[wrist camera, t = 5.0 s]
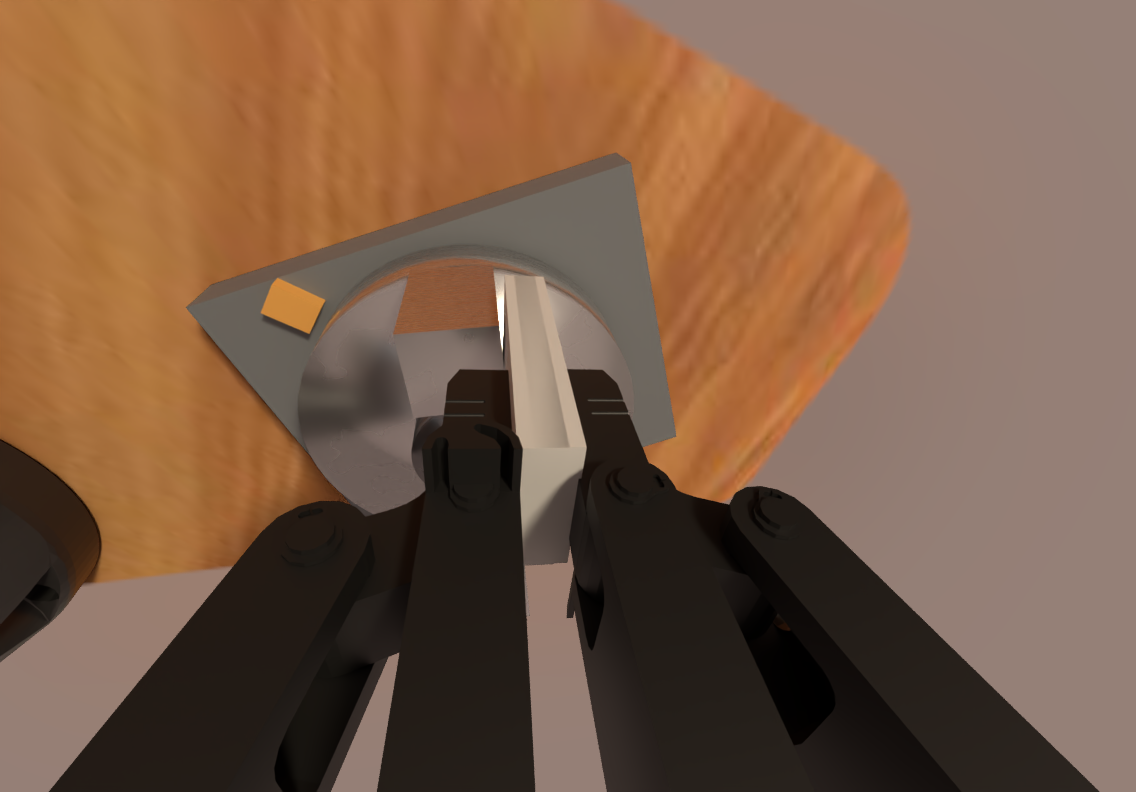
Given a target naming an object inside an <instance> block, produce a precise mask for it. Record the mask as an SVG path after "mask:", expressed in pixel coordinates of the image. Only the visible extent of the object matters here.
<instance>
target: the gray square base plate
mask: <svg viewBox="0 0 1136 792" xmlns="http://www.w3.org/2000/svg"><path fill="white" fill-rule="evenodd" d="M454 244H479V245H486V246H494V247H501V248H505V249H509V250H513V251H517V252H520V253H524V254H526V255H529V256H531V257H534V258H536V259H538V260H541V261H543V262H545V263H547V264H548V265H550V266H552V267H554V268H555V269H557V270H559V271H561V272H562V273H563V274H565V275H566V276H567V277H569V278H570V279H571V280H572V281H574V282H575V283H576V284H577V285H578V286H579V287H580V288H581V289H582V290H583V291H584V292H585V293H586V294H587V295H588V296H589V297H590V298H591V299H592V301H593V302H594V304H595V305H596V306H597V308H598V309H599V310H600V312H601V314H602V316H603V318H604V320H605V321H606V323H607V325H608V327H609V329H610V331H611V333H612V335H613V337H614V339H615V341H616V343H617V345H618V347H619V349H620V351H621V353H622V355H623V357H624V359H625V361H626V364H627V367H628V370H629V373H630V376H631V379H632V386H633V392H634V413H633V419H632V422H633V425H634V427H635V430H636V432H637V435H638V437H639V440H640V442H641V445H642V447H644V446H648V445H651V444H654V443H657V442H660V441H664V440H667V439H670V438H673V437H676V431H675V425H674V419H673V413H672V407H671V401H670V395H669V389H668V383H667V377H666V371H665V365H664V359H663V353H662V347H661V341H660V335H659V329H658V323H657V317H656V311H655V305H654V299H653V293H652V287H651V281H650V275H649V269H648V263H647V257H646V251H645V245H644V239H643V233H642V227H641V221H640V215H639V209H638V203H637V197H636V191H635V185H634V179H633V173H632V167H631V162H629V161H628V160H626V159H625V158H623V157H622V156H620V155H619V154H617V153H614V154H610V155H607V156H604V157H601V158H598V159H595V160H592V161H589V162H586V163H583V164H580V165H577V166H574V167H571V168H568V169H565V170H561V171H558V172H555V173H552V174H549V175H546V176H543V177H540V178H537V179H534V180H531V181H528V182H525V183H522V184H519V185H515V186H512V187H509V188H506V189H503V190H500V191H497V192H494V193H491V194H488V195H485V196H482V197H479V198H476V199H473V200H470V201H466V202H463V203H460V204H457V205H454V206H451V207H448V208H445V209H442V210H439V211H436V212H433V213H430V214H427V215H424V216H421V217H417V218H414V219H411V220H408V221H405V222H402V223H399V224H396V225H393V226H390V227H387V228H384V229H381V230H378V231H375V232H372V233H368V234H365V235H362V236H359V237H356V238H353V239H350V240H347V241H344V242H341V243H338V244H335V245H332V246H329V247H326V248H322V249H319V250H316V251H313V252H310V253H307V254H304V255H301V256H298V257H295V258H292V259H289V260H286V261H283V262H280V263H277V264H273V265H270V266H267V267H264V268H261V269H258V270H255V271H252V272H249V273H246V274H243V275H240V276H237V277H234V278H231V279H228V280H224V281H221V282H218V283H215V284H212V285H210V286H209V287H208V288H207V289H206V290H205V291H204V292H203V293H201V294H200V295H199V296H198V297H197V298H196V299H195V300H194V301H193V302H192V303H190V304H189V305H188V306H187V307H186V308H187V309H188V311H189V312H190V313H191V314H192V315H193V317H194V318H195V319H196V320H197V321H198V323H199V324H200V325H201V326H202V327H203V329H204V330H205V331H206V332H207V333H208V335H209V336H210V337H211V338H212V339H213V341H214V342H215V343H216V344H217V345H218V346H219V348H220V349H221V350H222V351H223V352H224V354H225V355H226V356H227V357H228V358H229V360H230V361H231V362H232V363H233V364H234V366H235V367H236V368H237V369H238V370H239V372H240V373H241V374H242V375H243V376H244V377H245V379H246V380H247V381H248V382H249V383H250V385H251V386H252V387H253V388H254V389H255V391H256V392H257V393H258V394H259V395H260V397H261V398H262V399H263V400H264V401H265V403H266V404H267V405H268V406H269V407H270V409H271V410H272V411H273V412H274V413H275V414H276V416H277V417H278V418H279V419H280V420H281V422H282V423H283V424H284V425H285V426H286V428H287V429H288V430H289V431H290V432H291V434H292V435H293V436H294V437H295V438H296V440H297V441H298V442H299V443H300V444H301V446H302V447H303V448H304V449H305V450H306V451H307V453H308V454H309V455H310V453H309V451H308V449H307V448H306V445H305V442H304V439H303V436H302V433H301V429H300V423H299V416H298V393H299V389H300V384H301V379H302V375H303V372H304V370H305V367H306V365H307V363H308V360H309V358H310V355H311V354H312V352H313V350H314V348H315V346H316V344H317V342H318V340H319V338H320V336H321V334H322V332H323V331H324V329H325V327H326V325H327V323H328V321H329V319H330V317H331V316H332V314H333V313H334V311H335V309H336V308H337V306H338V305H339V303H340V302H341V300H342V299H343V298H344V297H345V296H346V295H347V294H348V293H349V291H350V290H351V289H352V288H353V287H354V286H355V285H356V284H358V283H359V282H360V281H361V280H362V279H364V278H365V277H366V276H367V275H369V274H370V273H371V272H373V271H375V270H376V269H378V268H380V267H381V266H383V265H385V264H386V263H388V262H390V261H393V260H395V259H397V258H400V257H402V256H404V255H407V254H409V253H413V252H417V251H420V250H424V249H428V248H432V247H439V246H447V245H454ZM310 456H311V455H310ZM343 496H344V495H343ZM344 497H345V498H346V499H347V500H348V502H349V503H350V504H351V505H352V506H354V507H357V508H358V509H359V510H360V511H361V512H362V513H363V515H364V516H365V517H366V516H369V515H373V514H372V513H370V512H368V511H366V510H365V509H363V508H362V507H360V506H358V505H357V504H355V503H353V502H352V501H351V500H349V499H348V498H347V497H346V496H344Z"/></svg>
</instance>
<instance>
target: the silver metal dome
mask: <svg viewBox="0 0 1136 792" xmlns="http://www.w3.org/2000/svg"><path fill="white" fill-rule="evenodd" d="M505 275H517V276H537V277H544V281H545V285H546V289H547V293H548V296H549V300H550V304H551V308H552V312H553V316H554V320H555V324H556V328H557V332H558V336H559V340H560V344H561V348H562V352H563V356H564V360H565V364H566V368H567V369H596V370H604V371H605V372H606V373H607V374H608V375H609V376H610V377H611V378H612V379H613V380H614V381H615V382H616V383H617V384H618V387H619V389H620V392H621V394H622V397H623V402H625V404H626V407H627V409H628V415H630V417H631V420H632V419H633V413H634V392H633V386H632V379H631V376H630V373H629V370H628V367H627V364H626V361H625V359H624V357H623V355H622V353H621V351H620V349H619V347H618V345H617V343H616V341H615V339H614V337H613V335H612V333H611V331H610V329H609V327H608V325H607V323H606V321H605V320H604V318H603V316H602V314H601V312H600V310H599V309H598V308H597V306H596V305H595V304H594V302H593V301H592V299H591V298H590V297H589V296H588V295H587V294H586V293H585V292H584V291H583V290H582V289H581V288H580V287H579V286H578V285H577V284H576V283H575V282H574V281H572V280H571V279H570V278H569V277H567V276H566V275H565V274H563V273H562V272H561V271H559V270H557V269H555V268H554V267H552V266H550V265H548V264H547V263H545V262H543V261H541V260H538V259H536V258H534V257H531V256H529V255H526V254H524V253H520V252H517V251H513V250H509V249H505V248H501V247H494V246H486V245H479V244H454V245H447V246H439V247H432V248H428V249H424V250H420V251H417V252H413V253H409V254H407V255H404V256H402V257H400V258H397V259H395V260H393V261H390V262H388V263H386V264H385V265H383V266H381V267H380V268H378V269H376V270H375V271H373V272H371V273H370V274H369V275H367V276H366V277H365V278H364V279H362V280H361V281H360V282H359V283H358V284H356V285H355V286H354V287H353V288H352V289H351V290H350V291H349V293H348V294H347V295H346V296H345V297H344V298H343V299H342V300H341V302H340V303H339V305H338V306H337V308H336V309H335V311H334V313H333V314H332V316H331V317H330V319H329V321H328V323H327V325H326V327H325V329H324V331H323V332H322V334H321V336H320V338H319V340H318V342H317V344H316V346H315V348H314V350H313V352H312V354H311V355H310V358H309V360H308V363H307V365H306V367H305V370H304V372H303V375H302V379H301V384H300V389H299V393H298V416H299V423H300V429H301V433H302V436H303V439H304V442H305V445H306V448H307V449H308V451H309V453H310V455H311V457H312V459H313V461H314V463H315V464H316V466H317V467H318V468H319V470H320V471H321V472H322V474H323V475H324V476H325V478H326V479H327V480H328V481H329V482H330V483H331V484H332V485H333V486H334V487H335V488H336V489H337V490H338V491H339V492H341V493H342V494H343V495H344V496H346V497H347V498H348V499H349V500H351V501H352V502H353V503H355V504H357V505H358V506H360V507H362V508H363V509H365V510H366V511H368V512H370V513H372V514H376V513H380V512H384V511H387V510H391V509H394V508H396V507H399V506H402V505H404V504H407V503H408V502H410V501H412V500H413V499H415V498H417V497H419V496H420V495H421V494H422V493H423V492H424V491H425V480H424V469H423V458H422V447H423V445H424V443H425V441H426V439H427V437H428V436H429V435H430V434H431V433H433V432H434V431H435V430H436V429H438V428H439V427H440V426H442V424H443V417H444V408H445V402H446V392H447V383H448V382H449V381H450V380H451V379H452V377H453V376H454V375H455V374H456V373H457V372H458V371H459V369H476V370H504V363H503V354H502V348H503V316H504V283H505ZM524 579H525V599H526V616H530V614H529V605H528V595H527V586H526V575H525V566H524Z"/></svg>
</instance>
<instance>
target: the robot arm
mask: <svg viewBox="0 0 1136 792" xmlns="http://www.w3.org/2000/svg"><path fill="white" fill-rule="evenodd" d="M502 354H503V363H504V370H476V369H459V371H458V372H457V373H456V374H455V375H454V376H453V377H452V379H451V380H450V381H449V382H448V383H447V392H446V402H445V408H444V417H443V424H442V426H440V427H439V428H438V429H436V430H435V431H434V432H433V433H431V434H430V435H429V436H428V437H427V439H426V441H425V443H424V445H423V447H422V458H423V469H424V480H425V491H424V492H423V493H422V494H421V495H420V496H419V497H417V498H415V499H413V500H412V501H410V502H408V503H407V504H404V505H402V506H399V507H396V508H394V509H391V510H387V511H384V512H380V513H376V514H373V515H369V516H366V517H365V516H364V515H363V513H362V512H361V511H360V510H359V509H358V508H357V507H354V506H351V505H349V504H346V503H343V502H340V501H319V502H314V503H310V504H306V505H302V506H298V507H296V508H295V509H293V510H291V511H289V512H287V513H285V514H283V515H281V516H279V517H278V518H276V519H275V520H274V521H273V522H272V523H271V524H270V525H269V526H268V527H266V528H265V529H264V530H263V531H262V532H261V533H260V534H259V536H258V537H257V538H256V539H255V541H254V542H253V543H252V544H251V545H250V547H249V548H248V549H247V550H246V552H245V553H244V554H243V555H242V556H241V558H240V559H239V560H238V561H237V563H236V564H235V565H234V566H233V567H232V569H231V570H230V571H229V572H228V574H227V575H226V576H225V577H224V579H223V580H222V581H221V582H220V583H219V585H218V586H217V587H216V588H215V590H214V591H213V592H212V593H211V594H210V596H209V597H208V598H207V599H206V600H205V602H204V603H203V604H202V605H201V607H200V608H199V609H198V610H197V611H196V613H195V614H194V615H193V616H192V617H191V619H190V620H189V621H188V622H187V624H186V625H185V626H184V628H182V630H181V631H180V632H179V633H178V635H177V636H176V637H175V638H174V639H173V641H172V642H171V643H170V644H169V646H168V647H167V648H166V649H165V651H164V652H163V653H162V654H161V655H160V657H159V658H158V659H157V660H156V661H155V663H154V664H153V665H152V666H151V668H150V669H149V670H148V671H147V673H146V674H145V675H144V676H143V677H142V679H141V680H140V681H139V682H138V683H137V685H136V686H135V687H134V688H133V690H132V691H131V692H130V693H129V695H128V696H127V697H126V698H125V699H124V701H123V702H122V703H121V704H120V705H119V707H118V708H117V709H116V710H115V712H114V713H113V714H112V715H111V716H110V718H109V719H108V720H107V721H106V722H105V724H104V725H103V726H102V727H101V729H100V730H99V731H98V732H97V734H96V735H95V736H94V737H93V738H92V740H91V741H90V742H89V743H88V745H87V746H86V747H85V748H84V749H83V751H82V752H81V753H80V754H79V755H78V757H77V758H76V759H75V760H74V762H73V763H72V764H71V765H70V767H69V768H68V769H67V770H66V771H65V773H64V774H63V775H62V776H61V777H60V779H59V780H58V781H57V782H56V784H55V785H54V786H53V787H52V788H51V790H50V791H49V792H331V790H332V788H333V785H334V783H335V781H336V778H337V776H338V773H339V771H340V769H341V767H342V764H343V762H344V760H345V757H346V755H347V752H348V750H349V748H350V745H351V743H352V741H353V739H354V736H355V734H356V732H357V729H358V727H359V725H360V722H361V720H362V717H363V715H364V713H365V711H366V708H367V706H368V704H369V701H370V699H371V697H372V694H373V692H374V690H375V687H376V685H377V682H378V680H379V678H380V675H381V673H382V671H383V668H384V666H385V664H386V662H387V659H388V657H389V656H392V655H394V654H397V653H399V652H400V653H399V659H398V666H397V672H396V678H395V684H394V690H393V696H392V703H391V708H390V715H389V721H388V727H387V733H386V739H385V745H384V751H383V758H382V764H381V770H380V776H379V782H378V788H377V792H535V778H534V757H533V737H532V717H531V700H530V699H531V698H530V678H529V661H528V660H529V658H528V639H527V619H526V599H525V579H524V565H544V564H553V563H567V561H568V556H569V550H570V547H571V553H572V558H573V565H574V572H573V578H572V583H571V588H570V593H569V599H568V604H567V618H573V615H574V610H575V616H576V621H577V627H578V632H579V638H580V643H581V649H582V654H583V660H584V666H585V672H586V677H587V683H588V688H589V694H590V699H591V705H592V711H593V716H594V722H595V728H596V733H597V739H598V744H599V750H600V755H601V761H602V767H603V772H604V778H605V784H606V789H607V792H1099V791H1098V790H1097V789H1096V788H1095V787H1094V786H1093V785H1092V784H1091V783H1090V782H1089V781H1088V780H1087V779H1086V778H1085V777H1084V776H1083V775H1082V774H1081V773H1080V772H1079V771H1078V770H1077V769H1076V768H1075V767H1073V765H1072V764H1071V763H1070V762H1069V761H1068V760H1067V759H1065V758H1064V757H1063V756H1062V755H1061V754H1060V753H1059V752H1058V751H1057V750H1056V749H1055V748H1054V747H1053V746H1052V745H1051V744H1050V743H1049V742H1048V741H1047V740H1046V739H1045V738H1044V737H1043V736H1042V735H1041V734H1040V733H1039V732H1038V731H1037V730H1036V729H1035V728H1034V727H1032V725H1031V724H1030V723H1029V722H1027V721H1026V720H1025V719H1024V718H1023V717H1022V716H1021V715H1020V714H1019V713H1018V712H1017V711H1016V710H1015V709H1014V708H1013V707H1012V706H1011V705H1010V704H1009V703H1008V702H1007V701H1006V700H1005V699H1003V697H1002V696H1001V695H1000V694H999V693H997V691H996V690H994V688H993V687H992V686H990V685H989V684H988V683H987V682H986V681H985V680H984V679H983V678H982V677H981V676H980V675H979V674H978V673H977V672H976V671H975V670H974V669H973V668H972V667H971V666H970V665H969V664H968V663H967V662H966V661H965V660H964V659H962V657H961V656H960V655H959V654H958V653H957V652H956V651H955V650H954V649H953V648H951V647H950V646H949V645H948V644H947V643H946V642H945V641H944V640H943V639H942V638H941V637H940V636H939V635H938V634H937V633H936V632H935V631H934V630H933V629H932V628H931V627H930V626H929V625H928V624H927V623H926V622H925V621H924V620H923V619H922V618H921V617H920V616H919V615H918V614H916V612H915V611H913V610H912V609H911V608H910V607H909V606H908V605H907V604H906V603H905V602H904V601H903V600H902V599H901V598H900V597H899V596H898V595H897V594H896V593H895V592H894V591H893V590H892V589H891V588H890V587H889V586H888V585H887V584H886V583H885V582H884V581H883V580H882V579H881V578H880V577H879V576H878V575H877V574H875V573H874V572H873V571H872V570H871V569H870V568H869V567H868V566H867V565H866V564H865V563H864V562H863V561H862V560H861V559H860V558H859V557H858V556H857V555H856V554H855V553H854V552H853V551H852V550H851V549H850V548H849V547H848V546H847V545H846V544H845V543H844V542H843V541H842V540H841V539H840V538H839V537H837V536H836V535H835V534H834V533H833V532H832V531H831V530H830V529H829V528H828V527H827V526H826V525H825V524H824V523H823V522H822V521H821V520H820V519H819V518H818V517H817V516H816V515H815V514H814V513H813V512H812V511H811V510H810V509H808V508H807V507H806V506H805V505H803V504H802V503H801V502H799V501H798V500H797V499H796V498H794V497H792V496H790V495H788V494H786V493H784V492H781V491H779V490H777V489H772V488H767V487H763V486H756V487H746V488H744V489H742V490H740V491H738V492H736V493H735V495H734V497H733V499H732V500H731V502H730V505H728V504H724V503H719V502H715V501H711V500H706V499H702V498H697V497H694V496H691V495H687V494H684V493H682V492H680V491H678V490H676V488H675V486H674V484H673V483H672V481H671V480H670V479H669V477H668V476H667V475H666V474H665V473H664V472H663V471H661V470H660V469H658V468H657V467H656V466H654V465H652V464H650V463H648V460H647V458H646V455H645V453H644V450H643V447H642V445H641V442H640V440H639V437H638V435H637V432H636V430H635V427H634V425H633V422H632V420H631V417H630V415H628V409H627V407H626V404H625V402H623V397H622V394H621V392H620V389H619V387H618V384H617V383H616V382H615V381H614V380H613V379H612V378H611V377H610V376H609V375H608V374H607V373H606V372H605V371H604V370H596V369H567V368H566V364H565V360H564V356H563V352H562V348H561V344H560V340H559V336H558V332H557V328H556V324H555V320H554V316H553V312H552V308H551V304H550V300H549V296H548V293H547V289H546V285H545V281H544V277H537V276H517V275H505V283H504V316H503V348H502ZM98 556H99V537H98V533H97V530H96V526H95V524H94V522H93V520H92V518H91V516H90V514H89V513H88V511H87V510H86V508H85V507H84V505H83V504H82V503H81V501H80V500H79V499H78V498H77V497H76V496H75V494H74V493H73V492H72V491H71V490H70V489H69V488H68V487H67V486H66V485H65V484H63V483H62V482H61V481H60V480H59V479H58V478H57V477H55V476H54V475H53V474H52V473H50V472H49V471H48V470H47V469H45V468H44V467H42V466H41V465H40V464H38V463H37V462H35V461H34V460H33V459H31V458H29V457H28V456H26V455H25V454H23V453H21V452H20V451H18V450H16V449H15V448H13V447H11V446H9V445H8V444H6V443H4V442H2V441H0V662H1V661H2V660H4V659H5V658H6V657H7V656H9V655H10V654H11V653H13V652H14V651H15V650H16V649H17V648H19V647H20V646H21V645H23V644H24V643H25V642H26V641H28V640H29V639H30V638H31V637H33V636H34V635H35V634H37V633H38V632H39V631H40V630H42V629H43V628H44V627H45V626H47V625H48V624H49V623H50V622H51V621H52V620H54V619H55V618H56V617H57V616H58V615H59V614H60V613H61V612H62V611H63V610H64V608H65V607H66V606H67V605H68V603H69V602H70V601H71V599H72V598H73V597H74V595H75V594H76V592H77V591H78V590H79V588H80V587H81V586H82V584H83V583H84V581H85V580H86V579H87V577H88V576H89V575H90V573H91V572H92V570H93V569H94V567H95V565H96V562H97V559H98Z"/></svg>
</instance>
